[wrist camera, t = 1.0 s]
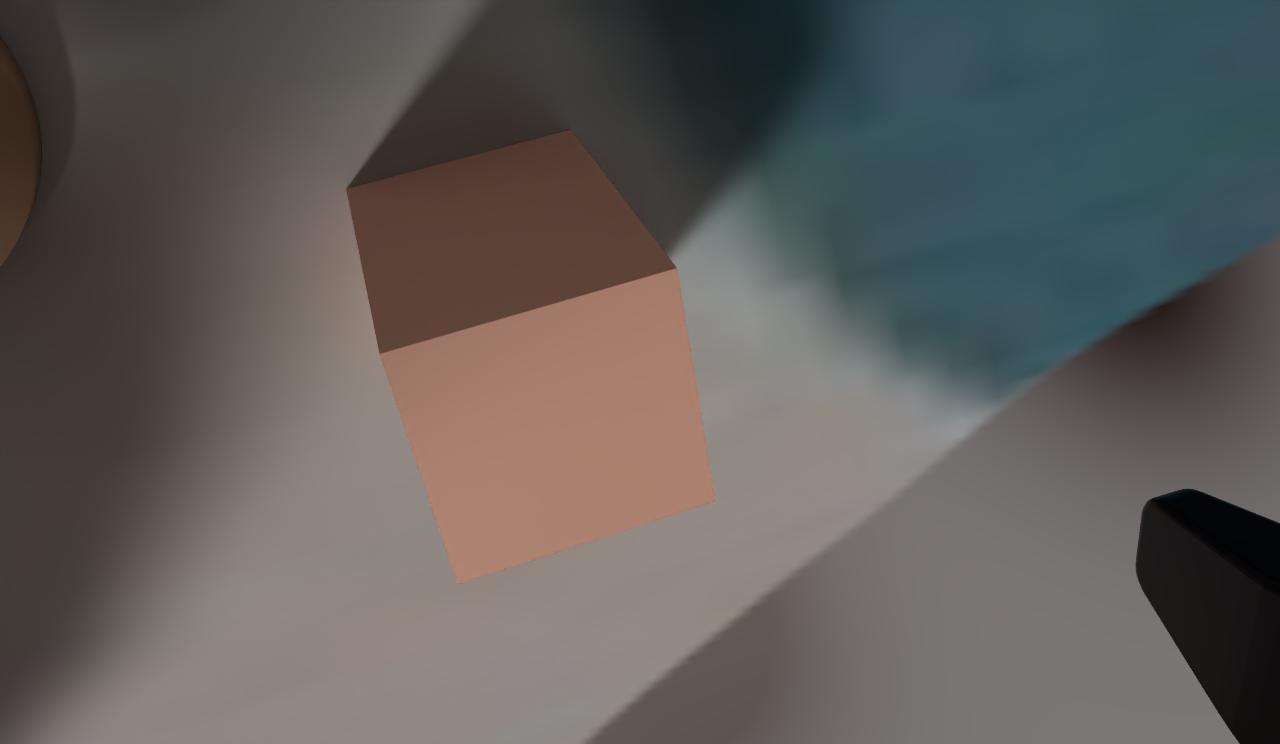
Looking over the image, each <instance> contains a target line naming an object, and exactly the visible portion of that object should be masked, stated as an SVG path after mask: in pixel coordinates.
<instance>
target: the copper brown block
mask: <svg viewBox="0 0 1280 744" xmlns="http://www.w3.org/2000/svg"><path fill="white" fill-rule="evenodd" d="M346 190H347V195H348V200H349V205H350V210H351V215H352V220H353V225H354V230H355V235H356V240H357V245H358V249H359V254H360V259H361V264H362V269H363V274H364V279H365V284H366V289H367V294H368V299H369V304H370V309H371V314H372V318H373V323H374V328H375V333H376V338H377V343H378V348H379V353H380V356H381V359H382V362H383V365H384V368H385V371H386V374H387V377H388V380H389V383H390V386H391V389H392V392H393V395H394V398H395V401H396V404H397V407H398V410H399V412H400V415H401V418H402V421H403V424H404V427H405V430H406V433H407V436H408V439H409V442H410V445H411V448H412V451H413V454H414V457H415V460H416V463H417V466H418V469H419V472H420V475H421V477H422V480H423V483H424V486H425V489H426V492H427V495H428V498H429V501H430V504H431V507H432V510H433V513H434V516H435V519H436V522H437V525H438V528H439V531H440V534H441V537H442V540H443V542H444V545H445V548H446V551H447V554H448V557H449V560H450V563H451V566H452V569H453V572H454V575H455V578H456V581H457V584H460V583H463V582H466V581H469V580H472V579H476V578H479V577H482V576H485V575H488V574H491V573H494V572H497V571H500V570H503V569H506V568H509V567H513V566H516V565H519V564H522V563H525V562H528V561H531V560H534V559H537V558H540V557H543V556H546V555H550V554H553V553H556V552H559V551H562V550H565V549H568V548H571V547H574V546H577V545H580V544H583V543H586V542H590V541H593V540H596V539H599V538H602V537H605V536H608V535H611V534H614V533H617V532H620V531H623V530H627V529H630V528H633V527H636V526H639V525H642V524H645V523H648V522H651V521H654V520H657V519H660V518H664V517H667V516H670V515H673V514H676V513H679V512H682V511H685V510H688V509H691V508H694V507H697V506H701V505H704V504H707V503H710V502H713V501H715V498H714V492H713V485H712V479H711V473H710V467H709V461H708V455H707V449H706V443H705V437H704V431H703V425H702V419H701V413H700V407H699V400H698V394H697V388H696V382H695V376H694V370H693V364H692V358H691V352H690V346H689V340H688V334H687V328H686V321H685V315H684V309H683V303H682V297H681V291H680V285H679V279H678V273H677V268H676V267H675V265H674V264H673V263H672V261H671V260H670V259H669V257H668V256H667V255H666V253H665V252H664V251H663V250H662V248H661V247H660V246H659V244H658V243H657V242H656V240H655V239H654V238H653V236H652V235H651V234H650V232H649V231H648V230H647V228H646V227H645V226H644V225H643V223H642V222H641V221H640V219H639V218H638V217H637V215H636V214H635V213H634V211H633V210H632V209H631V207H630V206H629V205H628V204H627V202H626V201H625V200H624V198H623V197H622V196H621V194H620V193H619V192H618V190H617V189H616V188H615V186H614V185H613V184H612V183H611V181H610V180H609V179H608V177H607V176H606V175H605V173H604V172H603V171H602V169H601V168H600V167H599V165H598V164H597V163H596V162H595V160H594V159H593V158H592V156H591V155H590V154H589V152H588V151H587V150H586V148H585V147H584V146H583V144H582V143H581V142H580V141H579V139H578V138H577V137H576V135H575V134H574V133H573V131H572V130H567V131H563V132H559V133H555V134H552V135H548V136H544V137H540V138H537V139H533V140H529V141H525V142H521V143H518V144H514V145H510V146H506V147H503V148H499V149H495V150H491V151H488V152H484V153H480V154H476V155H472V156H469V157H465V158H461V159H457V160H454V161H450V162H446V163H442V164H438V165H435V166H431V167H427V168H423V169H420V170H416V171H412V172H408V173H404V174H401V175H397V176H393V177H389V178H386V179H382V180H378V181H374V182H370V183H367V184H363V185H359V186H355V187H352V188H348V189H346Z"/></svg>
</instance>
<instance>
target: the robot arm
mask: <svg viewBox="0 0 1280 744" xmlns="http://www.w3.org/2000/svg"><path fill="white" fill-rule="evenodd" d="M1136 573H1137V577H1138V581H1139V583H1140V586H1141V588H1142V590H1143V592H1144V594H1145V595H1146V597H1147V598H1148V600H1149V602H1150V603H1151V605H1152V607H1153V608H1154V610H1155V611H1156V613H1157V615H1158V616H1159V618H1160V619H1161V621H1162V623H1163V624H1164V626H1165V628H1166V629H1167V631H1168V632H1169V634H1170V636H1171V637H1172V639H1173V640H1174V642H1175V644H1176V645H1177V647H1178V648H1179V650H1180V652H1181V653H1182V655H1183V657H1184V658H1185V660H1186V661H1187V663H1188V665H1189V666H1190V668H1191V669H1192V671H1193V673H1194V674H1195V676H1196V678H1197V679H1198V681H1199V682H1200V684H1201V686H1202V687H1203V689H1204V690H1205V692H1206V694H1207V695H1208V697H1209V698H1210V700H1211V701H1212V703H1213V705H1214V706H1215V708H1216V710H1217V711H1218V713H1219V714H1220V716H1221V717H1222V719H1223V720H1224V722H1225V723H1226V725H1227V726H1228V728H1229V729H1230V731H1231V732H1232V734H1233V735H1234V736H1235V738H1236V739H1237V740H1238V742H1239V743H1240V744H1280V523H1278V522H1275V521H1273V520H1271V519H1268V518H1265V517H1263V516H1260V515H1258V514H1256V513H1253V512H1250V511H1248V510H1245V509H1243V508H1240V507H1238V506H1236V505H1233V504H1230V503H1228V502H1226V501H1223V500H1221V499H1218V498H1216V497H1213V496H1211V495H1208V494H1205V493H1203V492H1200V491H1197V490H1194V489H1182V490H1178V491H1175V492H1171V493H1168V494H1165V495H1161V496H1158V497H1155V498H1152V499H1150V500H1149V501H1148V502H1147V503H1146V504H1145V506H1144V507H1143V511H1142V517H1141V524H1140V532H1139V540H1138V548H1137V556H1136Z"/></svg>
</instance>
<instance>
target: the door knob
mask: <svg viewBox="0 0 1280 744" xmlns="http://www.w3.org/2000/svg"><path fill="white" fill-rule="evenodd" d="M41 160H42V146H41V135H40V126H39V122H38V118H37V114H36V110H35V105H34V102H33V99H32V97H31V94H30V91H29V89H28V86H27V84H26V81H25V79H24V76H23V74H22V73H21V71H20V69H19V67H18V65H17V63H16V62H15V60H14V58H13V56H12V54H11V52H10V51H9V49H8V48H7V47H6V45H5V44H4V42H3V41H2V40H1V38H0V266H1V265H2V264H3V263H4V262H5V260H6V259H7V258H8V256H9V254H10V253H11V251H12V249H13V248H14V246H15V244H16V243H17V241H18V239H19V237H20V235H21V232H22V230H23V228H24V225H25V223H26V221H27V218H28V216H29V213H30V211H31V208H32V206H33V203H34V201H35V198H36V194H37V189H38V185H39V181H40V176H41Z"/></svg>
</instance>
